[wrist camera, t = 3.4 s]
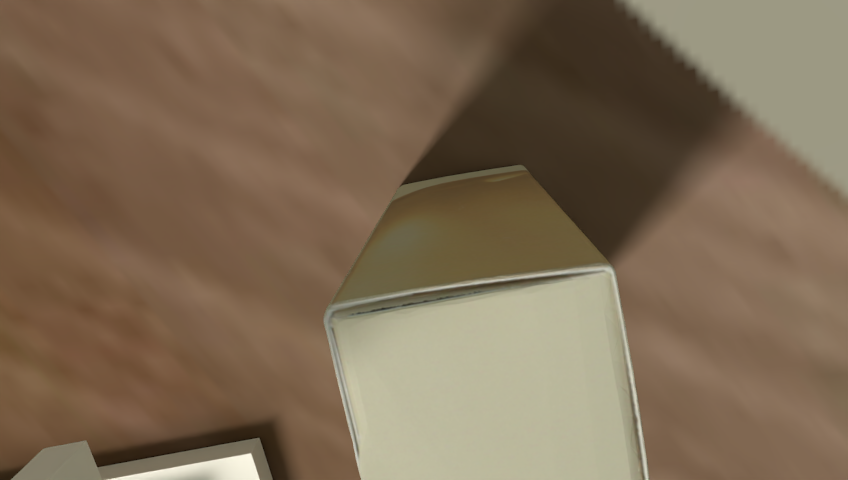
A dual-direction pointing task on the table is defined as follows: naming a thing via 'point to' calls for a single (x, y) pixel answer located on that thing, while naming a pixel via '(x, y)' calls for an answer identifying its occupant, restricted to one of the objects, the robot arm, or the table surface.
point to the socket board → (197, 464)
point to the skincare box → (484, 340)
